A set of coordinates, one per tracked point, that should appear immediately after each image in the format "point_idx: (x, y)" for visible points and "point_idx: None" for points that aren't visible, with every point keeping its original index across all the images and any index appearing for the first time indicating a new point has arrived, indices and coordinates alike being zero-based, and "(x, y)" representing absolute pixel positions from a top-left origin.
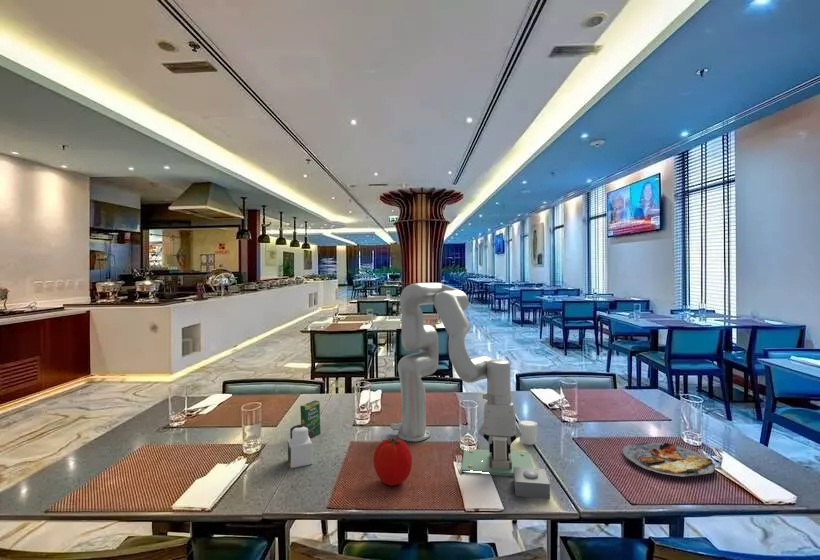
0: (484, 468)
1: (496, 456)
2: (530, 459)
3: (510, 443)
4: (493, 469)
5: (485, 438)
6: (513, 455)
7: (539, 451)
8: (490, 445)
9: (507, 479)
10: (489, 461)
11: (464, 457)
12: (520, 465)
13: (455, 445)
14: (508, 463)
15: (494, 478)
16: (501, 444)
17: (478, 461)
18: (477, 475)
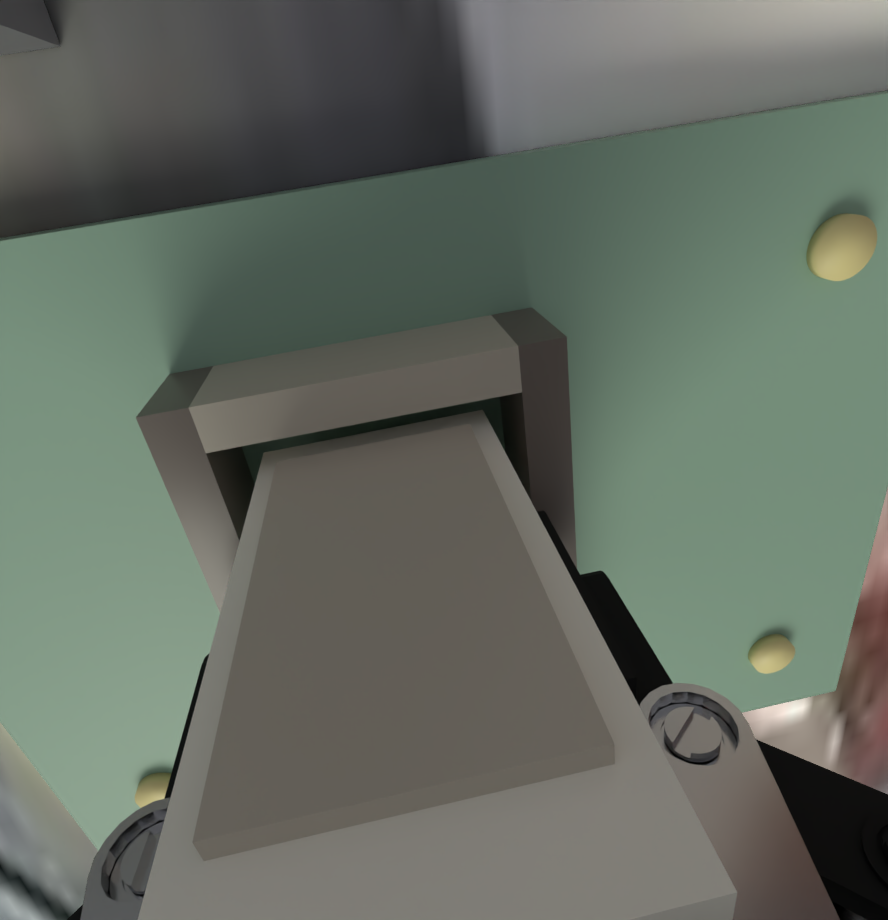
0: (615, 249)
1: (455, 455)
2: (13, 728)
3: (134, 851)
4: (467, 257)
5: (864, 797)
6: None
7: (41, 916)
8: (635, 670)
9: (183, 54)
10: None
11: (869, 498)
12: (80, 532)
13: (878, 738)
14: (209, 398)
15: (418, 25)
16: (351, 689)
17: (698, 449)
18: (706, 62)
